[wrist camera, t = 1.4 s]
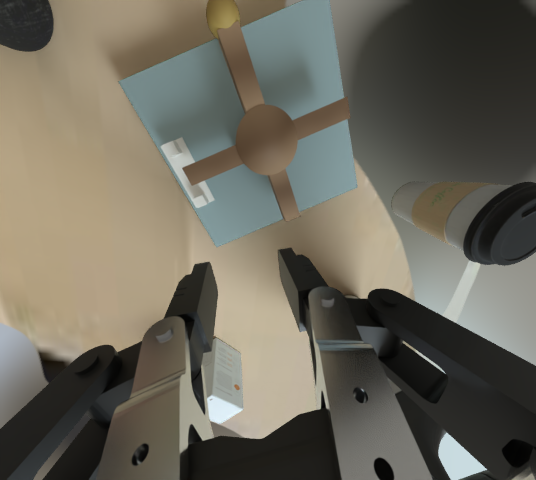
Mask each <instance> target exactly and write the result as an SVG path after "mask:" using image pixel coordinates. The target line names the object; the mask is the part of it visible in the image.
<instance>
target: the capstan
mask: <svg viewBox="0 0 536 480" xmlns="http://www.w3.org/2000/svg"><path fill="white" fill-rule="evenodd" d="M206 17H207V23H208V26H209V28H210V30H211V32H212V34H213V35H214V36H215V38H216V39H218V41H219V45H220V48H221V50H222V53H223V56H224V58H225V61H226V64H227V67H228V69H229V72H230V75H231V78H232V80H233V83H234V86H235V89H236V91H237V94H238V97H239V99H240V102H241V105H242V108H243V110H244V113H245V115H244V117H243V118H242V120H241V121H240V123H239V126H238V129H237V133H236V145H234V146H232V147H229V148H227V149H225V150H222V151H220V152H218V153H215V154H213V155H211V156H209V157H206V158H204V159H202V160H199V161H197V162H195V163H192V164H190V165H188V166H185V167H183V168H182V169H183V171H184V173H185V175H186V176H187V178H188V180H189V182H190V184H191V185H192V186H193V185H196V184H198V183H200V182H202V181H205V180H207V179H209V178H212V177H214V176H216V175H219V174H221V173H223V172H226V171H228V170H230V169H233V168H235V167H237V166H240V165H242V164H245V165H246V166H247V167H248V168H249V169H250V170H252V171H253V172H255V173H258V174H261V175H267V176H268V179H269V181H270V184H271V187H272V190H273V192H274V195H275V198H276V201H277V203H278V206H279V209H280V211H281V214H282V217H283V219H284V220H285V221H286V222H288V221H290V220H292V219H295V218H297V217H300V213H299V210H298V207H297V204H296V200H295V197H294V194H293V191H292V188H291V185H290V181H289V178H288V175H287V172H286V169H285V168H286V167H287V166H288V165H289V164H290V163H291V161H292V160H293V158H294V156H295V153H296V150H297V144H298V140H300V139H302V138H305V137H307V136H309V135H311V134H314V133H316V132H318V131H321V130H323V129H325V128H328V127H330V126H332V125H335V124H337V123H339V122H342V121H344V120H346V119H348V118H350V112H349V105H348V99H347V97H345V98H343V99H340V100H338V101H336V102H333V103H331V104H329V105H326V106H324V107H322V108H319V109H317V110H315V111H312V112H310V113H308V114H306V115H303V116H301V117H299V118H296V119H294V120H292V119H291V118H290V116H289V115H288V114H287V113H286V112H285V111H283V110H282V109H280V108H278V107H276V106H273V105H265V102H264V99H263V96H262V93H261V90H260V87H259V84H258V80H257V77H256V74H255V71H254V68H253V65H252V61H251V58H250V55H249V52H248V49H247V46H246V42H245V39H244V36H243V33H242V30H241V27H240V14H239V10H238V7H237V5H236V3H235V1H234V0H209V1H208V3H207V8H206Z"/></svg>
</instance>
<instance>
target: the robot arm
mask: <svg viewBox="0 0 536 480" xmlns="http://www.w3.org/2000/svg"><path fill="white" fill-rule="evenodd" d="M278 260H279V271H280V278H281V282H282V285H283V288H284V290H285V293H286V296H287V298H288V301H289V304H290V307H291V309H292V312H293V315H294V317H295V320H296V323H297V325H298V328H299V331H300V332H302V331H307V333H308V336H309V347H310V355H311V363H312V370H313V378H314V386H315V395H316V408H317V410H314V411H311V412H307V413H303V414H300V415H297V416H296V417H295V418H293V419H292V420H290V421H289V422H287V423H286V424H284V425H283V426H281V427H280V428H278V429H277V430H275V431H274V432H272V433H271V434H269V435H268V436H266V437H265V438H262V439H250V438H239V437H228V436H218V437H215V438H214V436H213V432H212V428H211V424H210V419H209V411H208V402H207V393H206V385H205V376H204V368H203V365H202V360H203V353H207V352H211V351H212V344H213V335H214V326H215V317H216V308H217V299H218V290H217V284H216V281H215V277H214V274H213V270H212V266H211V264H210V262H205V263H199V264H195V265H194V268H193V271H192V273H191V274H190V275H186V276H185V277H184V278H183V279H182V280H181V281H180V282H179V284H178V286H177V288H176V291H175V293H174V295H173V296H174V297H173V298H172V300H171V302H170V305H169V307H168V310H167V312H166V314H165V317H164V319H162V320H160V321H158V322H157V323H155V324H154V325H153V326H152V327H151V328H149V330H148V331H147V332H146V333H145V335H144V337H143V340H142V341H141V342H139V343H137V344H135V345H133V346H131V347H128V348H126V349H124V350H122V351H119V352H117V351H116V350H115V349H114V347H113V346H111V345H102V346H98V347H95V348H93V349H91V350H89V351H87V352H85V353H84V354H82V355H81V356H79V357H78V358H77V359H75V360H74V361H73V362H72V363H71V364H70V365H69V366H68V367H66V368H65V369H64V370H63V371H62V372H61V373H60V374H59V375H58V376H57V377H56V378H55V379H54V380H52V381H51V382H50V383H49V384H48V385H47V386H46V387H45V388H44V389H43V390H42V391H41V392H40V393H39V394H37V395H36V396H35V397H34V398H33V399H32V400H31V401H30V402H29V403H28V404H27V405H26V406H24V407H23V408H22V409H21V410H20V411H19V412H18V413H17V414H16V415H15V416H14V417H13V418H12V419H11V420H9V421H8V422H7V423H6V424H5V425H4V426H3V427H2V428H1V429H0V480H33V479H34V477H35V475H36V474H37V472H38V470H39V469H40V468H41V466H42V465H43V464H44V463H45V462H46V460H47V459H48V458H49V457H50V455H51V454H52V453H53V452H54V451H55V449H56V448H57V447H58V445H60V443H61V442H62V441H63V439H64V438H65V437H66V436H67V435H68V434H69V432H70V431H71V430H72V429H73V427H74V426H75V425H76V424H77V423H78V421H79V420H80V419H81V418H82V416H83V415H84V414H85V413H86V414H87V415H88V416H89V417H90V418H91V419H90V420H89V421H88V423H87V424H86V425H85V427H84V428H83V429H82V430H81V432H80V433H79V434H78V435H77V437H76V438H75V439H74V440H73V442H72V443H71V444H70V446H69V447H68V448H67V449H66V451H65V452H64V453H63V454H62V456H61V457H60V458H59V459H58V461H57V462H56V463H55V465H54V466H53V467H52V468H51V470H50V471H49V472H48V473H47V475H46V476H45V477H44V478H43V480H450V478H449V476H448V474H447V472H446V471H445V469H444V467H443V465H442V463H441V461H440V459H439V456H438V449H439V444H440V441H441V439H442V438H443V436H444V435H445V434H446V432H447V433H448V434H449V435H451V436H452V437H453V438H454V439H455V440H456V441H457V442H458V443H459V444H460V445H461V446H462V447H464V448H465V449H466V450H467V451H468V452H469V453H470V454H471V455H472V456H473V457H474V458H475V459H477V460H478V461H479V462H480V463H481V464H482V465H483V466H484V467H485V468H486V469H487V470H485V471H482V472H480V473H476V474H473V475H471V476H468V477H465V478H463V479H460V480H536V366H535V365H533V364H531V363H529V362H527V361H526V360H524V359H522V358H520V357H518V356H516V355H514V354H513V353H511V352H509V351H507V350H505V349H503V348H501V347H499V346H497V345H496V344H494V343H492V342H490V341H488V340H486V339H485V338H483V337H481V336H479V335H477V334H475V333H473V332H471V331H469V330H468V329H466V328H464V327H462V326H460V325H458V324H456V323H455V322H453V321H451V320H449V319H447V318H445V317H443V316H441V315H440V314H438V313H436V312H434V311H432V310H430V309H428V308H426V307H425V306H423V305H421V304H419V303H417V302H415V301H413V300H411V299H410V298H408V297H406V296H404V295H402V294H400V293H398V292H396V291H393V290H389V289H375V290H372V291H371V292H370V293H369V295H368V299H359V298H357V297H355V296H352V295H346V296H344V295H343V294H342V293H341V292H340V291H338V290H337V289H334V288H332V287H329V286H328V285H327V284H326V282H325V281H324V279H323V278H322V276H321V275H320V274H319V272H318V271H317V270H316V268H315V267H314V265H313V264H312V262H311V261H310V260H309V258H307V257H305V256H303V255H295V253H294V251H293V250H292V248H286V249H280V250H278ZM403 341H405V342H406V343H408V344H409V345H410V346H412V347H413V348H415V349H416V350H417V351H419V352H420V353H422V354H423V355H424V356H426V357H427V358H429V359H430V360H431V361H433V362H434V363H436V364H437V365H438V366H439V367H440V368H442V370H443V371H444V372H445V373H446V374H445V373H443V372H442V371H440V370H439V369H438V368H436V367H435V366H434V365H432V364H431V363H429V362H428V361H427V360H425V359H424V358H423V357H421V356H420V355H418V354H417V353H416V352H414V351H413V350H412V349H410V348H409V347H407V346H406V345H405V344H403V343H402V342H403Z"/></svg>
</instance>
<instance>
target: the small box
mask: <svg viewBox="0 0 536 480" xmlns="http://www.w3.org/2000/svg"><path fill="white" fill-rule="evenodd" d="M202 365H203V368H204V376H205V385H206V393H207V402H208V411H209V419H210V420H211V421H213V422H216V423H219V424H221V423H223V422H224V421H226V420H227V419H229V418H231V417H232V416H234V415H236V414H237V413H239V412H240V411H242V410H243V387H242V367H241V353H240V352H238V351H237V350H235V349H233V348H232V347H230V346H229V345H227V344H226V343H224V342H222V341H221V340H219V339H218V338H215V339H213V344H212V351H211V352H207V353H203V360H202Z"/></svg>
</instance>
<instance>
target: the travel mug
mask: <svg viewBox="0 0 536 480" xmlns="http://www.w3.org/2000/svg"><path fill="white" fill-rule="evenodd" d="M52 32H53V15H52V11H51V7H50V4H49V1H48V0H0V44H2V45H4V46H7V47H9V48H12V49H15V50H19V51H36V50H39V49H41V48H43V47H44V46H45V45H46V44H47V43H48V42H49V41H50V38H51V36H52Z"/></svg>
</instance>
